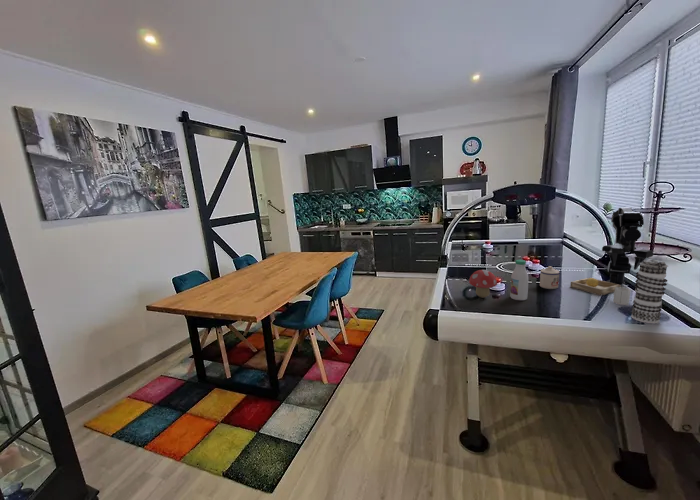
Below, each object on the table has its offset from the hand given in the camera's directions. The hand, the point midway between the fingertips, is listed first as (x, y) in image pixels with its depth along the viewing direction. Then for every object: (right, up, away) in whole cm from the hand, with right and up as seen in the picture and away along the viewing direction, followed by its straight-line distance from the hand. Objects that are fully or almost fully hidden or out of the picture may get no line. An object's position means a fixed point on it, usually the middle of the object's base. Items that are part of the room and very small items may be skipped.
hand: (624, 267), depth 150 cm
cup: (-12, -16, -11) cm, 23 cm away
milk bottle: (-52, -16, +3) cm, 55 cm away
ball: (-9, -9, +9) cm, 15 cm away
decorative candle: (-16, -20, -27) cm, 37 cm away
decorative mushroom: (-69, -17, +6) cm, 72 cm away
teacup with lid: (-27, -12, +16) cm, 33 cm away
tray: (-8, -12, +9) cm, 17 cm away
